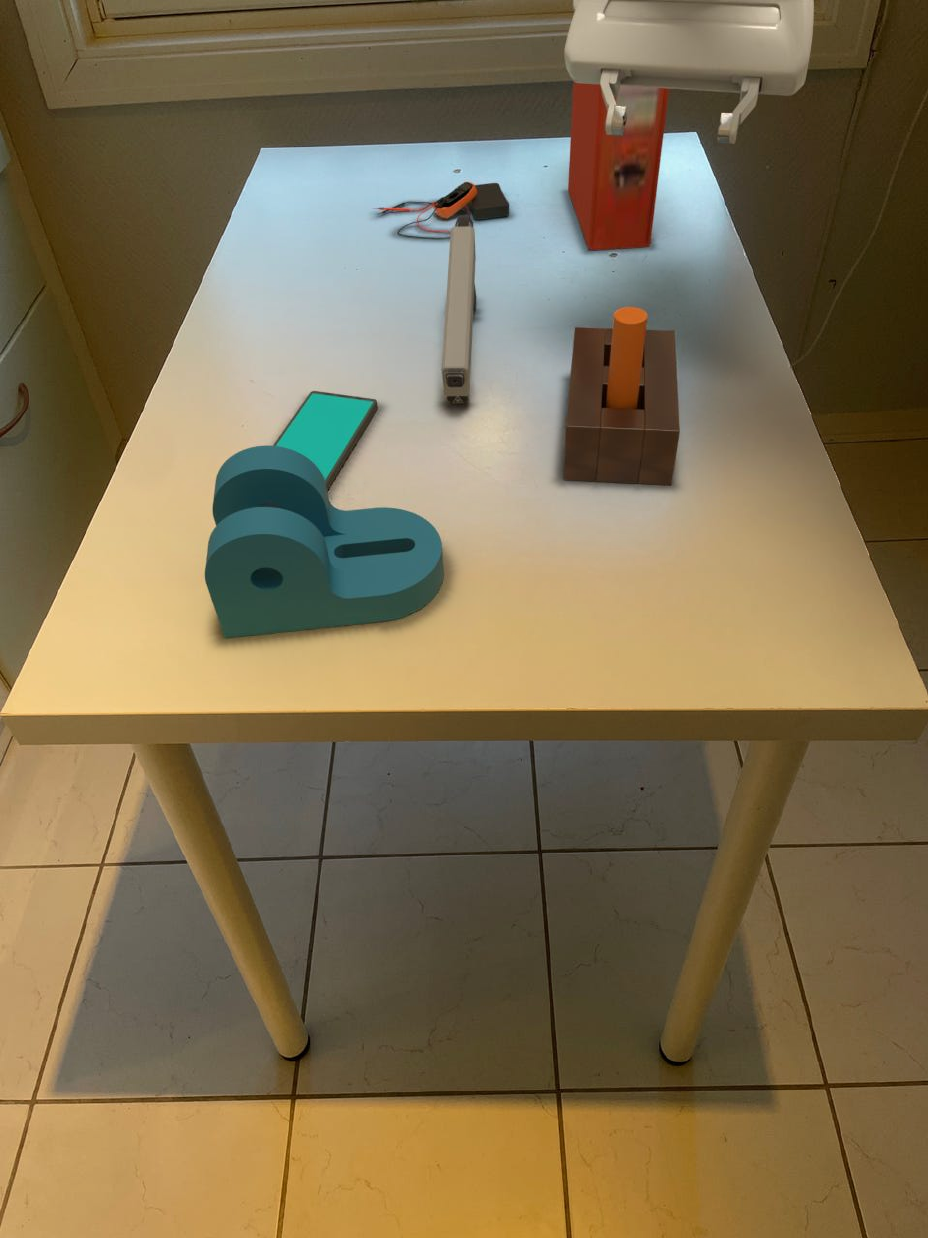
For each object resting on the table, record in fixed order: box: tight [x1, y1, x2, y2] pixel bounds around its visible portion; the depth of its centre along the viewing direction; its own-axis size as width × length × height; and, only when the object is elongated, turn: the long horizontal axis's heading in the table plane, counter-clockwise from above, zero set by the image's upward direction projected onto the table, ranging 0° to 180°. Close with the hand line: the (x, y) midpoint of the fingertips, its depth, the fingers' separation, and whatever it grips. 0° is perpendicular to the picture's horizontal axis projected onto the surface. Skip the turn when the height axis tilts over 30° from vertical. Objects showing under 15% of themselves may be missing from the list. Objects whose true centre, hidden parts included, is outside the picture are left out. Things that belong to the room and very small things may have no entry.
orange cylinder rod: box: [606, 306, 648, 409], centre depth 83 cm, size 3×3×14 cm
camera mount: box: [204, 445, 445, 639], centre depth 74 cm, size 18×10×10 cm, turn 96°
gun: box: [441, 214, 477, 405], centre depth 99 cm, size 2×25×10 cm, turn 177°
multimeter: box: [373, 181, 510, 240], centre depth 122 cm, size 18×12×3 cm, turn 96°
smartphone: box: [272, 390, 378, 491], centre depth 90 cm, size 7×1×15 cm
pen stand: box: [562, 326, 681, 486], centre depth 88 cm, size 10×17×6 cm, turn 173°
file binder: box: [567, 81, 670, 251], centre depth 110 cm, size 8×17×32 cm, turn 4°
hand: (669, 136), depth 79 cm, fingers open, 8 cm apart
